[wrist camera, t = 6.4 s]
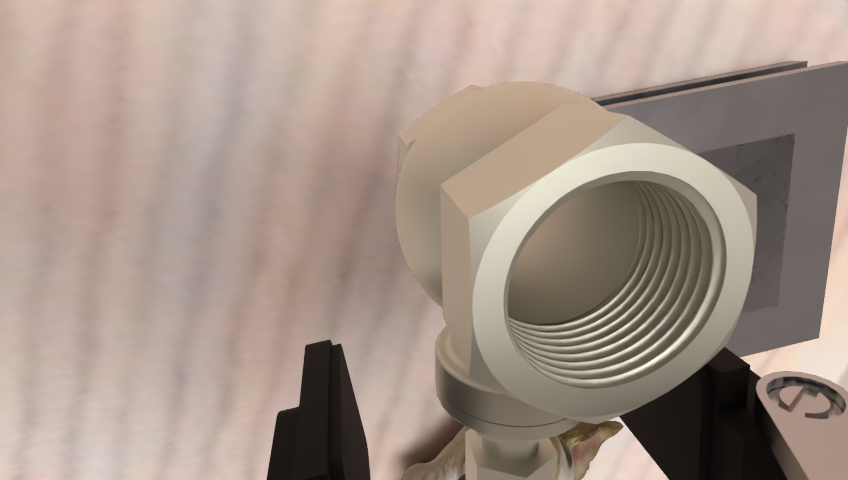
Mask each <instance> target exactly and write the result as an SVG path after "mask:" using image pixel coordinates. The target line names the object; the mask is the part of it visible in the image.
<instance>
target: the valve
mask: <svg viewBox="0 0 848 480" xmlns="http://www.w3.org/2000/svg"><path fill="white" fill-rule="evenodd" d="M398 164H399V179H398V184H397V189H396V194H395V220H396V230H397V234H398V239H399V243H400V247H401V249H402V252H403V255H404V258H405V260H406V262H407V264H408V266H409V268H410V270H411V272H412V274H413V275H414V277H415V278H416V280H417V281H418V283H419V284H420V285H421V287H422V288H423V289H424V290H425V291H426V293H427V294H428V295H429V296H430V297H431V298H432V299H433V300H434V301H435V302H436V303H437V304H438V305H440V306H441V307H442V308H443V316H444V319H445V321H446V323H447V326H446V327H445V328H444V329H443V330H442V332H441V333H440V334H439V336H438V337H437V340H436V344H435V374H436V390H437V396H438V398H439V400H440V402H441V404H442V406H443V408H444V409H445V410H446V411H447V412H448V413H449V414H450V416H451V417H452V418H454V419H455V420H457V421H458V422H460V423H461V424H462V425H464V426H465V427H467V428H469V430H468V431H466V432H465V467H466V473H465V474H463V475H462V476H461V477H459V479H458V480H556V471H557V457H558V453H557V451H556V449H555V448H554V446H553V444H552V442H551V441H550V439H549V438H550V437H554V436H557V435H559V434H562V433H564V432H566V431H568V430H570V429H571V428H573V427H575V426H576V425H577V424H578V423H579V422H580V421H581V422H586V423H592V424H599V423H602V422H604V421H607V420H610V419H613V418H615V417H618V416H620V415H623V414H625V413H627V412H630V411H632V410H635V409H637V408H639V407H640V406H642V405H644V404H646V403H648V402H650V401H652V400H654V399H656V398H658V397H660V396H661V395H663V394H665V393H667V392H669V391H670V390H672V389H673V388H674V387H676V386H677V385H679V384H680V383H682V382H683V381H685V380H686V379H687V378H689V377H690V376H691V375H693V374H694V373H695V372H697V371H698V370H699V369H701V368H702V367H703V366H704V365H705V364H706V363H707V362H709V361H710V360H711V359H712V358H713V357H714V356H715V355H716V354H717V353H718V352H719V351H720V350H721V349H722V348H723V347H724V346H725V345H726V344H727V343H728V341H729V339H730V337H731V335H732V333H733V331H734V329H735V326H736V324H737V322H738V319H739V317H740V314H741V311H742V308H743V305H744V301H745V298H746V295H747V291H748V287H749V283H750V280H751V274H752V267H753V260H754V252H755V244H756V229H757V195H756V194H755V193H753V192H752V191H751V190H749V189H748V188H747V187H745V186H744V185H742V184H741V183H740V182H738V181H737V180H735V179H734V178H732V177H731V176H729V175H728V174H726V173H725V172H723V171H722V170H720V169H719V168H717V167H716V166H714V165H712V164H711V163H709V162H708V161H706V160H705V159H703V158H701V157H700V156H698V155H696V154H695V153H693V152H691V151H690V150H688V149H686V148H685V147H683V146H681V145H680V144H678V143H676V142H675V141H673V140H671V139H670V138H668V137H666V136H664V135H663V134H661V133H659V132H657V131H656V130H654V129H652V128H650V127H649V126H647V125H645V124H643V123H641V122H639V121H638V120H636V119H634V118H632V117H630V116H629V115H624V114H619V113H614V112H609V111H607V110H605V109H604V108H603V107H601V106H600V105H599V104H597V103H596V102H594V101H592V100H590V99H589V98H587V97H585V96H583V95H581V94H579V93H576V92H574V91H571V90H569V89H566V88H563V87H559V86H555V85H551V84H545V83H538V82H511V83H503V84H498V85H493V86H489V87H486V88H485V87H479V86H474V85H470V86H468V87H467V88H465V89H464V90H462V91H460V92H459V93H457V94H455V95H454V96H452V97H451V98H449V99H447V100H446V101H444V102H443V103H441V104H440V105H438V106H437V107H435V108H433V109H432V110H431V111H429V112H428V113H426V114H425V115H423V116H422V117H420V118H419V119H417V120H416V121H415V122H413V123H412V124H410V125H409V126H408V127H406V128H405V129H403V130H402V131H401V132H399V133H398Z"/></svg>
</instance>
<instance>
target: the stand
mask: <svg viewBox="0 0 848 480" xmlns="http://www.w3.org/2000/svg"><path fill="white" fill-rule="evenodd" d="M807 62H808V61H788V62H783V63H778V64H772V65H767V66H762V67H756V68H751V69H746V70H741V71H735V72H730V73H725V74H719V75H714V76H709V77H703V78H698V79H693V80H688V81H682V82H677V83H672V84H666V85H661V86H656V87H650V88H645V89H640V90H634V91H629V92H624V93H619V94H613V95H608V96H603V97H597V98H592V99H590V100H592V101H594V102H596V103H597V104H599V105H600V106H601V107H603V108H604V109H605V110H607V111H609V112H614V113H619V114H624V115H629V116H630V117H632V118H634V119H636V120H638V121H639V122H641V123H643V124H645V125H647V126H649V127H650V128H652V129H654V130H656V131H657V132H659V133H661V134H663V135H664V136H666V137H668V138H670V139H671V140H673V141H675V142H676V143H678V144H680V145H681V146H683V147H685V148H686V149H688V150H690V151H691V152H693V153H695V154H696V155H698V156H700V157H701V158H703V159H705V160H706V161H708V162H709V163H711V164H712V165H714V166H716V167H717V168H719V169H720V170H722V171H723V172H725V173H726V174H728V175H729V176H731V177H732V178H734V179H735V180H737V181H738V182H740V183H741V184H742V185H744V186H745V187H747V188H748V189H749V190H751V191H752V192H753V193H755V194H756V195H757V229H756V244H755V252H754V260H753V267H752V274H751V280H750V283H749V287H748V291H747V295H746V298H745V301H744V305H743V308H742V311H741V314H740V317H739V319H738V322H737V324H736V326H735V329H734V331H733V333H732V335H731V337H730V339H729V341H728V343H727V344H726V345H725V346H724V347H726V348H727V349H728V350H730V351H731V352H732V353H734V354H735V355H737V356H738V357H743V356H747V355H751V354H755V353H759V352H764V351H768V350H772V349H776V348H780V347H784V346H788V345H792V344H796V343H800V342H805V341H809V340H813V339H817V338H819V333H820V326H821V318H822V311H823V304H824V296H825V289H826V282H827V274H828V267H829V260H830V252H831V245H832V238H833V230H834V223H835V215H836V208H837V201H838V193H839V186H840V179H841V171H842V164H843V157H844V149H845V142H846V135H847V127H848V61H837V62H832V63H826V64H821V65H816V66H811V67H807Z"/></svg>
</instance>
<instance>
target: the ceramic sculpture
mask: <svg viewBox="0 0 848 480" xmlns="http://www.w3.org/2000/svg"><path fill="white" fill-rule="evenodd" d="M623 427H624V426H623V425H622V424H621V423H620V422H617V421H604V422H602V423H599V424H592V423H586V422H581V421H580V422H579V423H578V424H577V425H576V426H575V427H573V428H571V429H570V430H568V431H566V432H564V433H562V434H559V435H557V436H554V437H550V438H549V439H550V441H551V442H552V444H553V446H554V448H555V449H556V451H557V453H558V457H557V471H556V480H581V479H582V478H583V477H584V476H585V474H586V471H587V470H588V469H589V463H590V461H592V460H593V459H594V457H595V456H596V454H597V453H598V450H599V448H600V446H601V444H602V443H603V442H604V441H606V440H607V439H608V438H610V437H612V436H614V435H615V434H617V433H618V432H619V431H620V430H621V429H622V428H623ZM468 430H469V428H467V427H465V426H463V427H462V428H461V430H460V431H459V432H458V434H457V435H456V436H455V437H454V439H453V440H452V441H451V442H450V443H449V444H448V445H447V446H446V447H445V448H444V449H443V450H442V451H441V452H440V454H439V455H438V456H437V457H436V458H435V459H434V460H432V461H431V462H427V463H416V464H414V465H412V466H410V467H409V468H407V469H406V471H405V473H404V474H403V477H402V479H401V480H458V479H459V477H461V476H462V475H463V474H465V473H466V467H465V432H466V431H468Z"/></svg>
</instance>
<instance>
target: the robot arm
mask: <svg viewBox="0 0 848 480" xmlns="http://www.w3.org/2000/svg"><path fill="white" fill-rule="evenodd" d="M619 417H620V418H621V419H622V421H623V422H624V423H625V424H626V426H627V427H628V428H629V429H630V431H631V432H632V433H633V435H634V436H635V437H636V438H637V440H638V441H639V442H640V443H641V445H642V446H643V447H644V448H645V450H646V451H647V452H648V453H649V455H650V456H651V457H652V458H653V460H654V461H655V462H656V464H657V465H658V466H659V467H660V469H661V470H662V471H663V472H664V474H665V475H666V476H667V477H668V479H669V480H848V392H847V391H846V390H845V389H844V388H842V387H840V386H839V385H837V384H835V383H833V382H832V381H829V380H827V379H824V378H821V377H819V376H816V375H812V374H807V373H802V372H792V371H782V372H773V373H771V374H768V375H765V376H763V377H762V378H761V377H759V376H758V375H757V374H755V373H754V372H753V371H751V370H750V365H749V364H747V363H746V362H745V361H743V360H742V359H741V358H739V357H738V356H737V355H735V354H734V353H732V352H731V351H730V350H728V349H727V348H726V347H723V348H722V349H721V350H720V351H719V352H718V353H717V354H716V355H715V356H714V357H713V358H712V359H711V360H710V361H709V362H707V363H706V364H705V365H704V366H703V367H702V368H701V369H699V370H698V371H697V372H695V373H694V374H693V375H691V376H690V377H689V378H687V379H686V380H685V381H683V382H682V383H680V384H679V385H677V386H676V387H674V388H673V389H672V390H670V391H669V392H667V393H665V394H663V395H661V396H660V397H658V398H656V399H654V400H652V401H650V402H648V403H646V404H644V405H642V406H640V407H639V408H637V409H635V410H632V411H630V412H627V413H625V414H623V415H620V416H619ZM267 480H370V468H369V456H368V448H367V442H366V437H365V433H364V429H363V426H362V422H361V418H360V414H359V410H358V406H357V402H356V399H355V395H354V391H353V387H352V383H351V379H350V376H349V372H348V368H347V364H346V360H345V356H344V353H343V349H342V346H341V344H337V345H332V342H331V340H326V341H322V342H317V343H313V344H309V345H306V347H305V355H304V365H303V375H302V384H301V394H300V404H299V407H296V408H292V409H287V410H283V411H280V412H279V413H278V415H277V419H276V425H275V431H274V437H273V444H272V450H271V456H270V462H269V468H268V475H267Z"/></svg>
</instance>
